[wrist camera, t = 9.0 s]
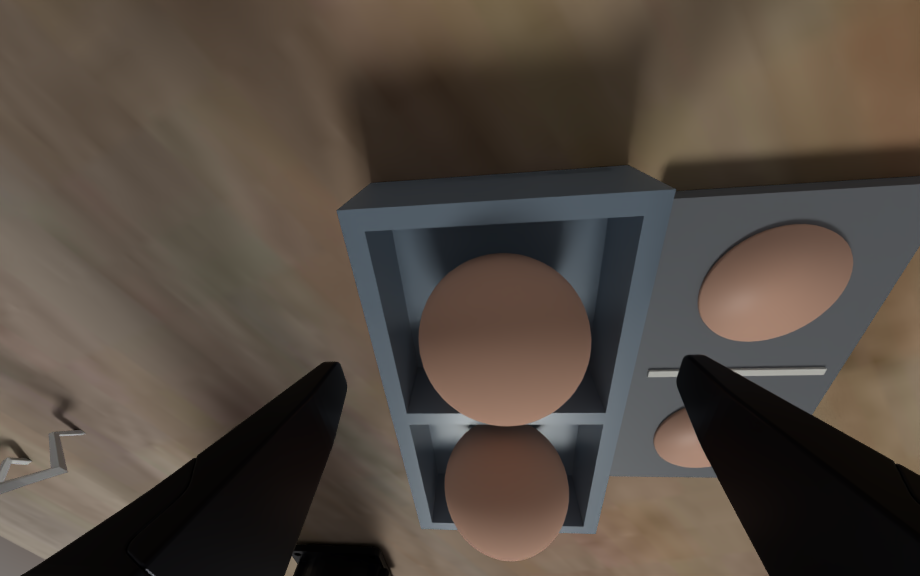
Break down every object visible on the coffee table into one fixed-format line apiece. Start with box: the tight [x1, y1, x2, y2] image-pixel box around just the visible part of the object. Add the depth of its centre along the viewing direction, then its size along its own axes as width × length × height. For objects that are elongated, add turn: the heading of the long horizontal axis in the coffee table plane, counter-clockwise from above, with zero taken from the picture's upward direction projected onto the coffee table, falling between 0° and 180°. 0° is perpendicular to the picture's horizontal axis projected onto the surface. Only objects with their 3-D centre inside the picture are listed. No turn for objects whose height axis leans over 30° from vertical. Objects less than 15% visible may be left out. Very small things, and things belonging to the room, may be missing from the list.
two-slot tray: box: [337, 165, 676, 534], centre depth 13 cm, size 8×16×3 cm, turn 5°
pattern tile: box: [609, 176, 920, 477], centre depth 14 cm, size 8×14×1 cm, turn 5°
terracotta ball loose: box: [419, 253, 591, 426], centre depth 10 cm, size 5×5×5 cm
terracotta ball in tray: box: [445, 425, 569, 561], centre depth 14 cm, size 5×5×5 cm
